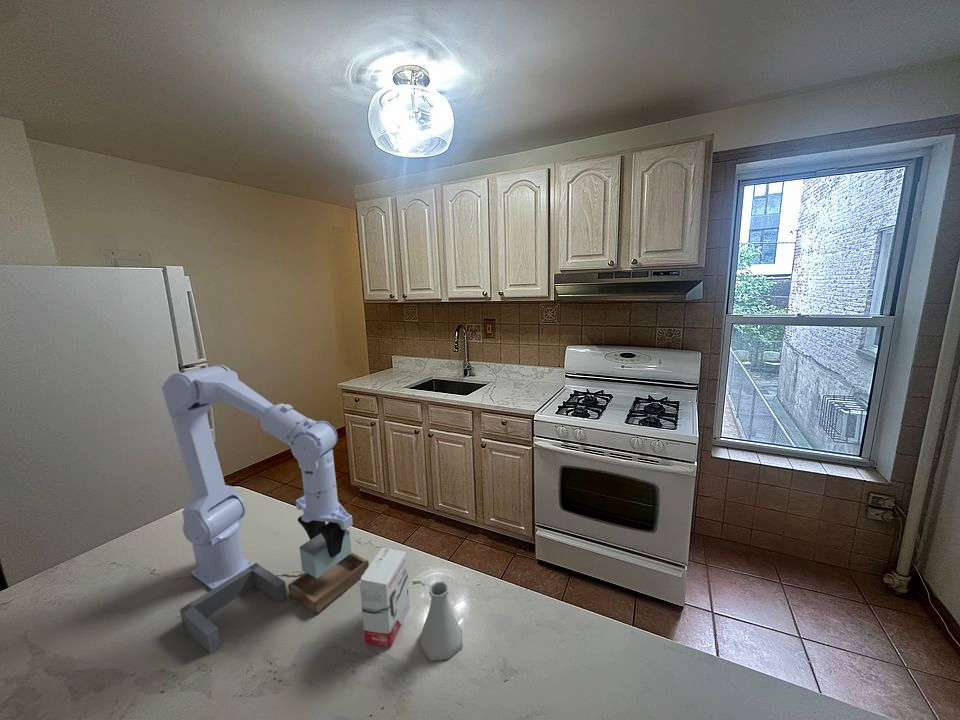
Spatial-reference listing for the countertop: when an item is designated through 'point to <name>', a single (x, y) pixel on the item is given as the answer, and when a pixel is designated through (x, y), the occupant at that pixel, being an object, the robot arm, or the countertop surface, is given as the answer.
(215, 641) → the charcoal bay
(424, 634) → the flask
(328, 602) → the walnut tray
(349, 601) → the countertop surface
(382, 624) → the ink box
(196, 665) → the countertop surface
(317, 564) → the pale grey block
